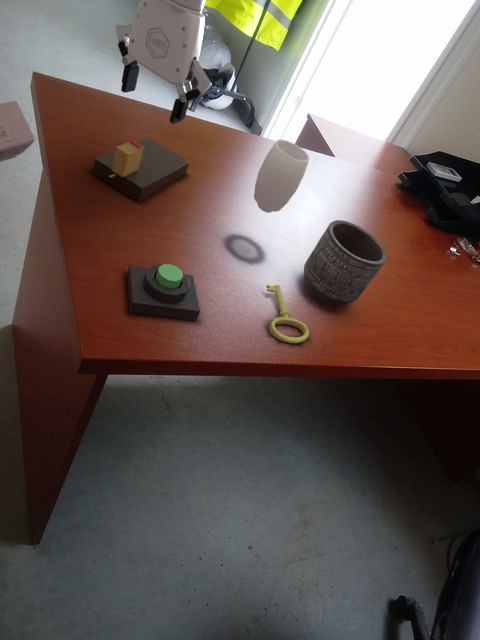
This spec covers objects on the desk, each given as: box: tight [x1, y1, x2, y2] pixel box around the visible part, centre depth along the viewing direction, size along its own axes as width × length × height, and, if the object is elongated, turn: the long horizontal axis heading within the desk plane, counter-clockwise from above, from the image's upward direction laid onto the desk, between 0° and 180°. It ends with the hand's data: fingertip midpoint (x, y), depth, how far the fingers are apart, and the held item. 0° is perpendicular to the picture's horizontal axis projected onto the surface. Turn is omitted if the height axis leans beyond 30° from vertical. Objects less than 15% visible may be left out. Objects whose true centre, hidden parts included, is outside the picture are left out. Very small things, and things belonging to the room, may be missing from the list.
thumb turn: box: [112, 139, 144, 177], centre depth 81 cm, size 5×2×5 cm, turn 159°
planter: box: [303, 219, 388, 309], centre depth 85 cm, size 12×12×13 cm
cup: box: [253, 139, 310, 214], centre depth 81 cm, size 7×7×21 cm
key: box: [265, 284, 310, 344], centre depth 78 cm, size 7×12×2 cm, turn 36°
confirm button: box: [156, 263, 183, 289], centre depth 67 cm, size 4×4×2 cm
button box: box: [126, 263, 201, 322], centre depth 68 cm, size 10×8×4 cm
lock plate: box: [92, 136, 190, 203], centre depth 88 cm, size 21×10×3 cm, turn 160°
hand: (151, 106), depth 77 cm, fingers open, 9 cm apart
